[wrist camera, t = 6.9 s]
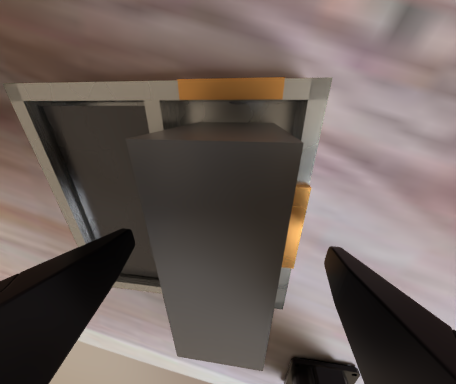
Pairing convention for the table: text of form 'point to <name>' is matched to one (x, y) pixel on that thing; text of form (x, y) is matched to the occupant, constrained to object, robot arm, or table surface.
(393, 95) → the table surface
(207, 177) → the grey block
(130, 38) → the table surface
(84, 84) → the grey square tray
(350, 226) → the table surface
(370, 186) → the table surface
